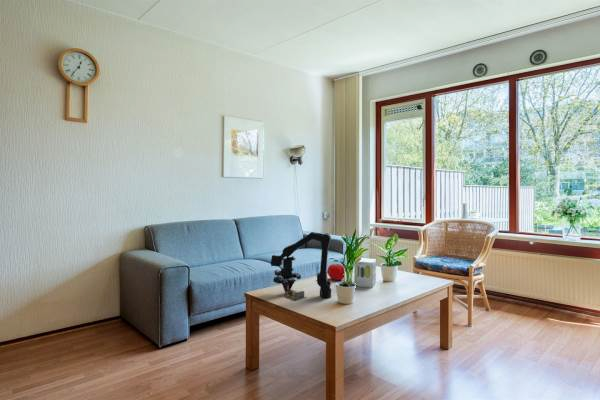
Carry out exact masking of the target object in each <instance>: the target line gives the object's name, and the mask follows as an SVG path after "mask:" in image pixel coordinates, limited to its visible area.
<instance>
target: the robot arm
mask: <svg viewBox="0 0 600 400" xmlns="http://www.w3.org/2000/svg"><path fill="white" fill-rule="evenodd" d="M331 239H332V237H331V235H330V234H329V233H325V232H324V233H321V232H315V231H311V232H310V233H309V234H307V235H305V236H304V237H302V238H300V240H298V241H296V242H294V243H292V244H290V245H287V246H285V247H284V248H283V249H282V253H281V254H280V255H276V254H273V255H271V258H270V266H271V267H281V266H282V268H281V270H279V269H276V270H274V275H275V277H273V280H272V282H273V283H276V284H279V285H280V284H281V285H282V287H283V288H282V289H283V290H284V293H285V292H286V291H287V287H288V284H289V290H292V287H293V285H294V284H295V282H297V280H301V278H302V274H300V273H297V272H293V271H294V268H293V261H295V260H296V257H295V256H294V255H293V254H294V253H295V252H296V251H297V250H298V249H300V248H301V247H303V246H304V245H305V244H307V243H309V242H310V241H312V240H314V241H318V242H320V245H321V257H320V267H319V269H320V271H319V272H317V274H316V283H317V285H318V287H320V288H319V297H320V298H321V299H325V300H326V299H327V300H328V299H331V298H332V288H331V285H332V283H331V282H330V281H329V279H328V273H327V270H328V255H329V247H330V243H331ZM296 279H297V280H296Z"/></svg>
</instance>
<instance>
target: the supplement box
mask: <svg viewBox="0 0 600 400" xmlns="http://www.w3.org/2000/svg"><path fill="white" fill-rule="evenodd" d="M360 258H361V260H360V261H358V263H357V264H356V265H355V264H354V271H353V272H354V276H353V279H354V281H353V282H355V283H356V284H357V286H356V287H363V288H370V289H371V288H372V289H373V288H374V287H375V285H376V281H377V279H376V277H377V272H376V271H377V259H376V258H369V257H368V258H367V257H360Z"/></svg>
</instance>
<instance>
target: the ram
mask: <svg viewBox="0 0 600 400" xmlns="http://www.w3.org/2000/svg"><path fill="white" fill-rule="evenodd" d="M292 291H295V290H294V289H291V290H289V284H288V287H287V291H286V292H285V291H284V294H286V295H292Z"/></svg>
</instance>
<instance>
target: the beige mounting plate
mask: <svg viewBox="0 0 600 400" xmlns="http://www.w3.org/2000/svg"><path fill="white" fill-rule="evenodd" d="M278 296H280V297H282V298H286V299H288V300H291V301H294V302H296V301H300V300H303V299H306V298H307V296H305V291H303V290H299V291H298V292H296V293H295V297H293V296H292V295H286V294H285V293H283V294H279V295H278Z"/></svg>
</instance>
